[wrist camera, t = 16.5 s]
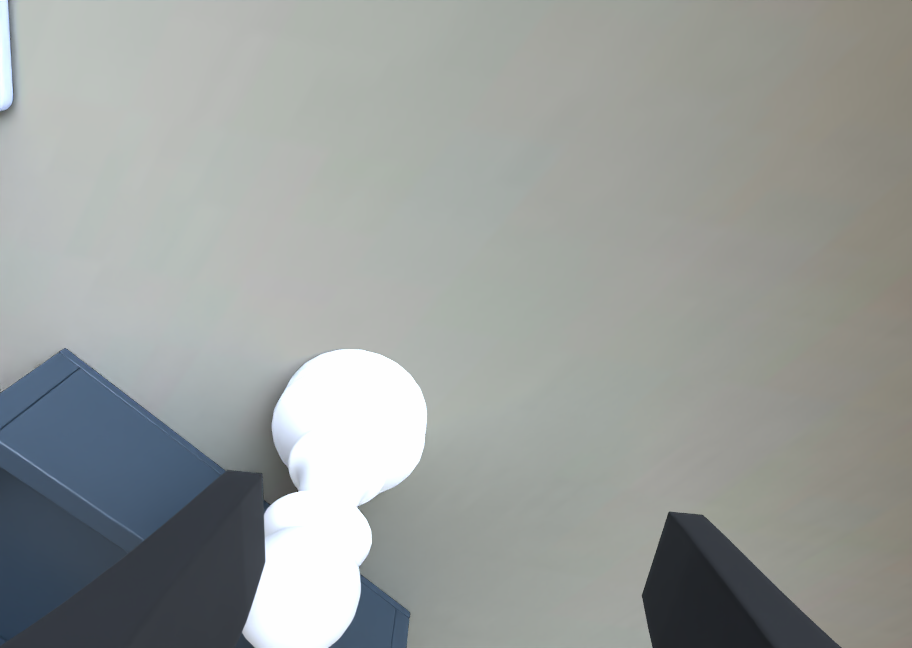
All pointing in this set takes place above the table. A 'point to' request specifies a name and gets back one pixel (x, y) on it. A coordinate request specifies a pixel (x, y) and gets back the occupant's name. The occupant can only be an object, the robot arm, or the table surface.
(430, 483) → the table surface
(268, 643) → the chess pawn
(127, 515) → the crate
